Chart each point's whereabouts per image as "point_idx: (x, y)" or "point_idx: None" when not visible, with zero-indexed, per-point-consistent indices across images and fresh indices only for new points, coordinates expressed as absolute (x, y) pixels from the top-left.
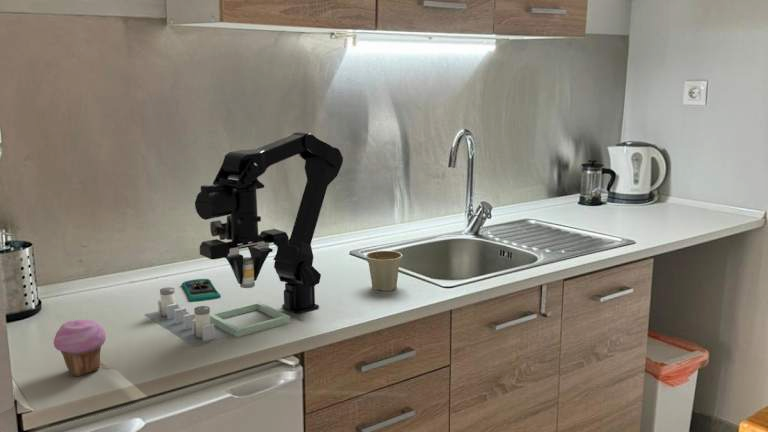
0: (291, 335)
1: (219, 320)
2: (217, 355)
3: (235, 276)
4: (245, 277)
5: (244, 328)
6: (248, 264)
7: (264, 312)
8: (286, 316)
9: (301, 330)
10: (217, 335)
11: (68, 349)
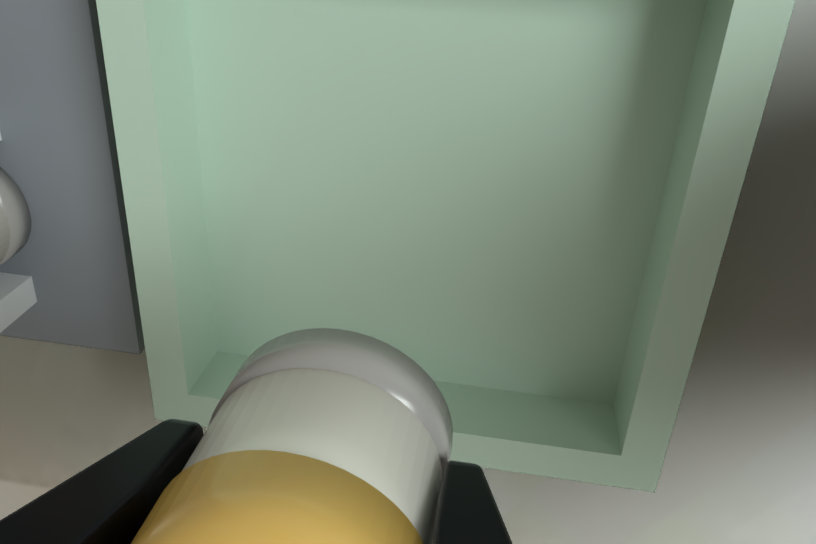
0: (536, 515)
1: (122, 138)
2: (20, 423)
3: (64, 492)
4: None
5: None
6: None
7: (687, 115)
8: (630, 476)
9: (651, 506)
10: (68, 272)
11: None
